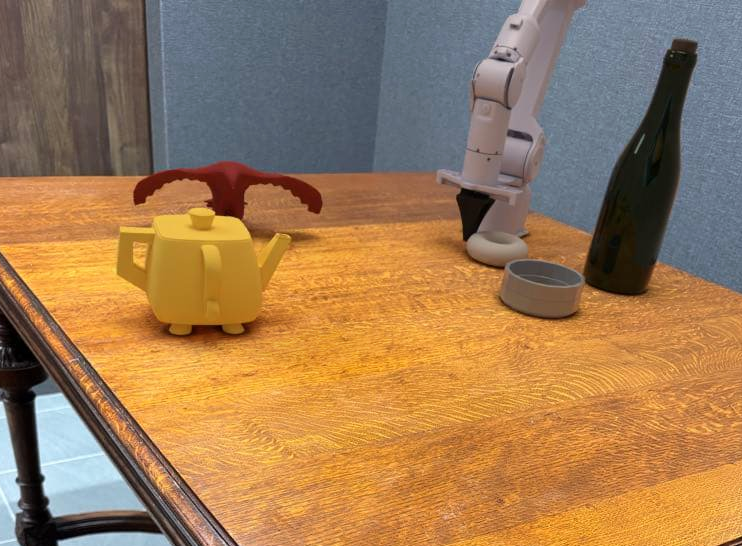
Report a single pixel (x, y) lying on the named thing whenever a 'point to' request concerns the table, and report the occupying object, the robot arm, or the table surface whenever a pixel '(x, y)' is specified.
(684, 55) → the wine bottle
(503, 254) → the donut
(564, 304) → the pan
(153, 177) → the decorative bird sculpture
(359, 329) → the table surface
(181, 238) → the teapot
